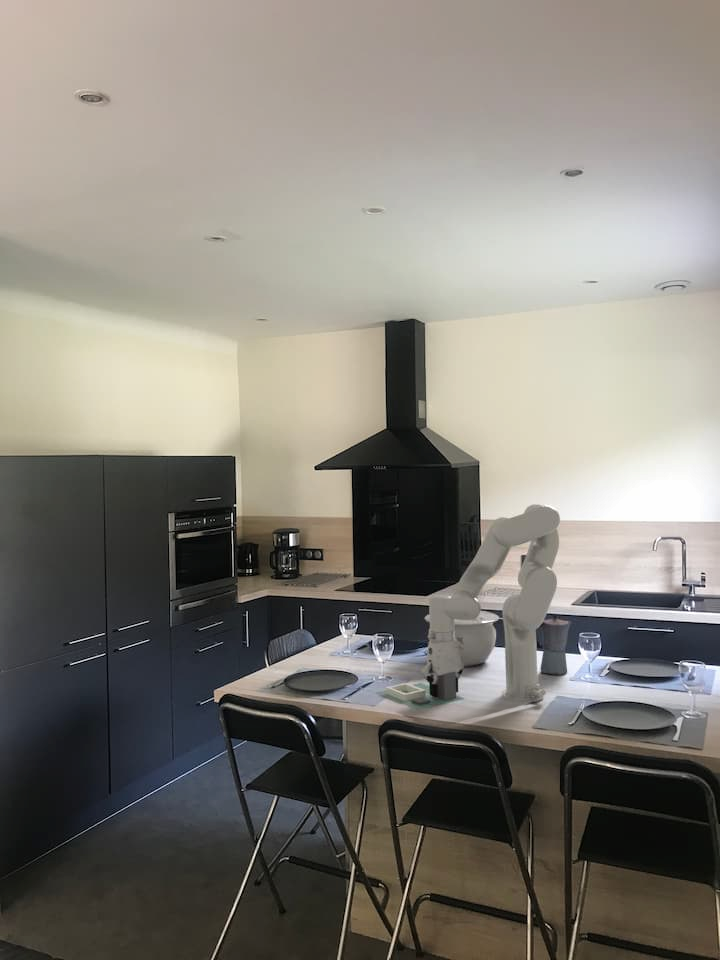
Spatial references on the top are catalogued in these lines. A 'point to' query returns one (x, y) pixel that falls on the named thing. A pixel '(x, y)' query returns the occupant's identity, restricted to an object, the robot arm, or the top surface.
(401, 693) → the board
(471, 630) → the chamber pot
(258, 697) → the top surface
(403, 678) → the top surface
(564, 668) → the moka pot
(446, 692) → the plug
